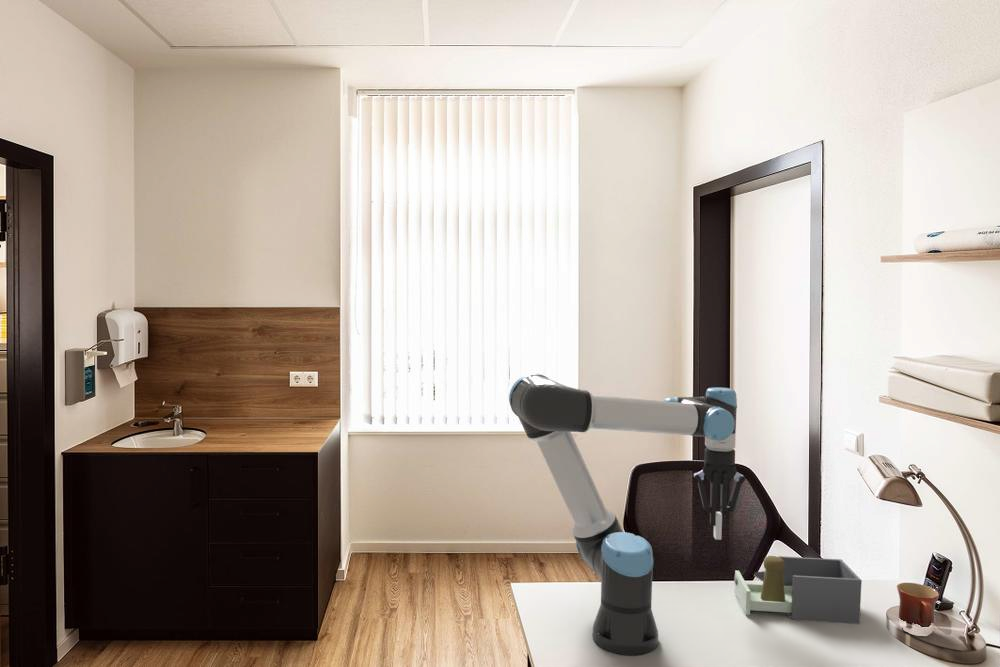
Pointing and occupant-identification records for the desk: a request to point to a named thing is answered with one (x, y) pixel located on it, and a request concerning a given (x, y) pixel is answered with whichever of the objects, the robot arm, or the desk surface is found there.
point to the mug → (917, 603)
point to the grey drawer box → (822, 590)
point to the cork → (773, 580)
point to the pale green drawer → (759, 597)
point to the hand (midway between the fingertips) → (717, 537)
